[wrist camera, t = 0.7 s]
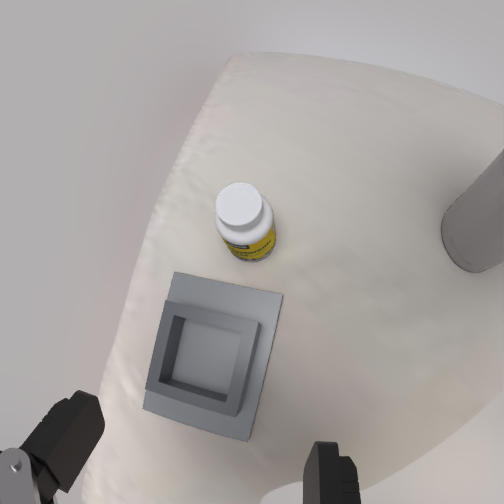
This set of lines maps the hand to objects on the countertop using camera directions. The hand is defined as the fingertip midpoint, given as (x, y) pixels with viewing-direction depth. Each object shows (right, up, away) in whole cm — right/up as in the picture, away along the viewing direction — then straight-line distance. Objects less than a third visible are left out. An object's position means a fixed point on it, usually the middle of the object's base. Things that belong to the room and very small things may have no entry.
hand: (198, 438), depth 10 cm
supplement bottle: (+2, +8, +26) cm, 27 cm away
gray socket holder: (-3, -5, +23) cm, 23 cm away
